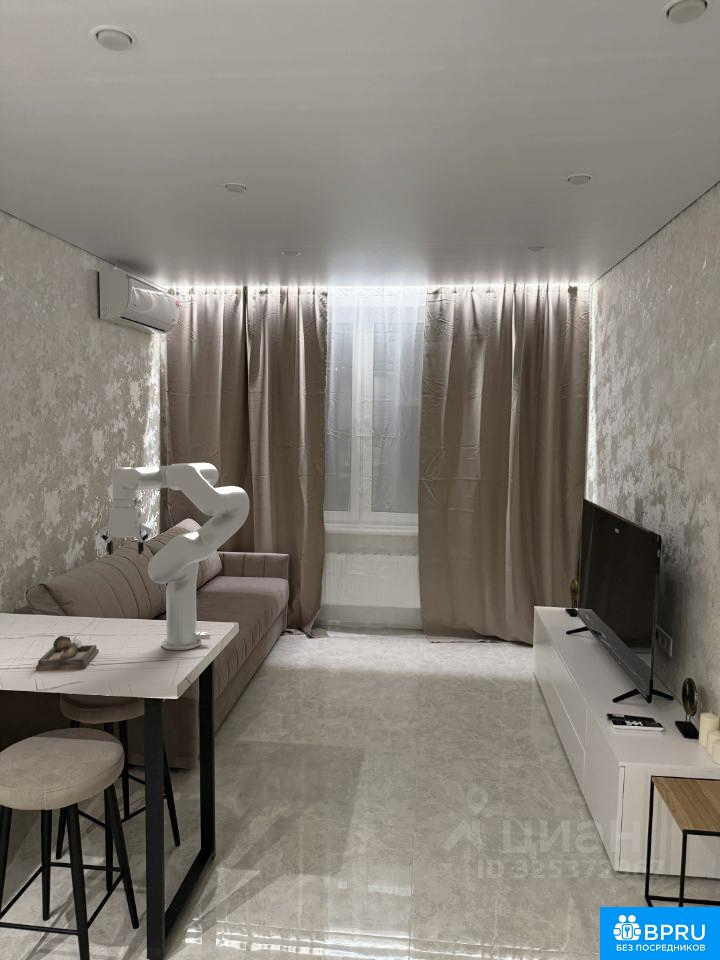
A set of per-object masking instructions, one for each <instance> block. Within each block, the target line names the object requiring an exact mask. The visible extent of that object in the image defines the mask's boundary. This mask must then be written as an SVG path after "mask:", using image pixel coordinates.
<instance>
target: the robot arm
mask: <svg viewBox="0 0 720 960" xmlns="http://www.w3.org/2000/svg"><path fill="white" fill-rule="evenodd" d="M111 478H112V479H111V481H112V483H111V484H112V485H111V487H112V490H111V491H112V507H111V508H110V512H109V519H108V521H109V522H108V525H106V526H103V527H102V528H100V529H98V533H99V535H100V536H101V539H102V540H103V541H104V542H105V543H106V545H107V546H106V548H107V549H106V551H107V553H108V555H109V556H111V555H112V554H114V542H113V540H114V539H115V538H136V539H137V540H138V543H137V554H138V555H142V554H143V552H145V551H144V550H145V545H144V544H145V543H144V542H145V541H146V540H147V539H148V538H149V537H150V535H151V532H152V531H153V529H152V528H151V527H149V526H146V525H144V524H142V517H141V511H140V507H139V506H138V505H141V499H137V491H142V490H143V491H144V490H153V489H164V488H165V489H166V488H169V489H171V490H173V491H181V492H182V493H183V494H184V495H185V496H186V498H188V499H189V501H190V502H191V503H192V504H193V505H194V506H195V507H196V508H197V509H198V510H199V511H201V513H202V514H204V515H206V516H209V517H211V518H210V519H209V520H208V521H206V522H205V523H204V524H203V525H202V526H200V528H198V529H197V530H194V531H191V532H187V533H186V532H185V533H182V534H179V535H176V536H175V537H173V538H172V539H171V540H169V541H168V542H166V544H165V545H164V546H163V547H162V548H160V550H158V551H157V552H156V553H155V554H154V555H153V556H152V558H150V560H149V562H148V565H147V572H148V573H147V574H148V576H149V578H150V580H152V582H154V583H156V584H162V585H164V584H165V585H166V584H167V586H166V589H165V590H166V592H165V603H166V604H165V607H166V608H165V609H166V610H165V611H166V639H164V640H163V641H162V643H161V647H162V648H163V649H166V650H170V651H186V650H190V649H195V648H198V647H199V646H201V645H202V643H203V640H204V641H205V640H211V633H208V632H206V631H205V632H201V631H199V630H200V629H199V627H198V628H197V580H198V573H199V572H198V571H199V562H201V561H205V560H207V559H208V558H209V557H211V555H212V554H214V553H215V552H216V551H217V550H218V549H220V547H221V546H222V545H224V544H225V543H226V542H227V541H228V540H229V539H230V538H231V537H232V536H233V535H234V534H236V533H237V532H238V530H240V528H242V527H243V525H244V524H245V523H246V521H247V518H248V516H249V512H250V498H249V496H248V494H247V492H246V490H244V489H243V488H242V487H239V486H234V485H226V486H219V487H214V486H215V485H216V484H217V482H218V481H219V471H218V469H217V467H215V466H214V465H213V464H212V463H208V462H186V463H174V464H173V463H172V464H170V465H156V466H155V465H153V466H142V467H140V466H139V467H130V466H121V467H120V466H118V467H113V469H112V471H111ZM106 531H108V535H109V536H108V535H107V534H106V533H105V532H106ZM143 531H145V533H144V536H143V535H142V533H143Z"/></svg>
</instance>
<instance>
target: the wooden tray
mask: <svg viewBox="0 0 720 960" xmlns="http://www.w3.org/2000/svg"><path fill="white" fill-rule="evenodd" d="M75 648H76V647H75ZM76 649H77V650H78V653H77V654H76V656H75V657H73V658H69V659H61V658H60V657H59V656H60V654H61V652H62V651H63V648H62V649H60V648H54V646H53V645H52V647H51V648H50V649H49V650H48V651H47V652H46V653H45V654H44V655H43V656H41V658H39V659H38V660H37V665H36V666H35V671H58V670H60V671H62V670H86V669H87V668H88V666H89V665H90V664H91V663H92V661H94V659H95V658H96V657H97V656H98V654H99V652H100V651H99V648H97V644H88V645H87V644H85V645H84V644H81V647H80V648H76ZM90 662H91V663H90Z"/></svg>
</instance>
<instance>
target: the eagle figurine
mask: <svg viewBox="0 0 720 960" xmlns="http://www.w3.org/2000/svg"><path fill="white" fill-rule="evenodd" d="M81 645H83V644H82V640H80V639H78V638H74V639H73V641H72V640H71V638H70V636H68V637H67V636H63V635H61V636H58V637H57V638H55V639H54V641H53V643H52V647H53V646H54V648H60V649H62V648H63V651H62V652H61V654H60V656H59V657H60V658H61V659H69V658H73V657H75V656H76V654H77V653H78V650H77V649H76V648H80V647H81ZM75 647H76V648H75Z"/></svg>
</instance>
